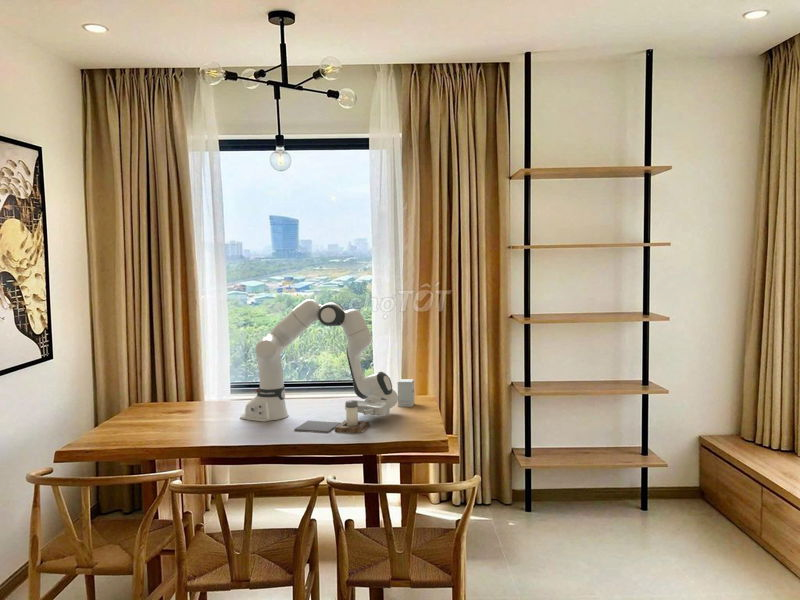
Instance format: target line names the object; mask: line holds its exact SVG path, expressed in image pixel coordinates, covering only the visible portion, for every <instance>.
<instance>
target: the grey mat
mask: <svg viewBox="0 0 800 600" xmlns="http://www.w3.org/2000/svg"><path fill="white" fill-rule="evenodd" d="M340 423H341V422H339V421H338V422H336V421H319V420H307V421H304V423H302V424H299V426H296V428H294V429H293V431H294V430H297V431H296V432H306V431H313V432H312V433H322V432H326V433H327V434H328V432H329V433H330V432H331V430H332V431H333V430H335V429H334V428H335V427H336V426H337V425H339V424H340ZM326 433H325V434H326Z"/></svg>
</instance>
